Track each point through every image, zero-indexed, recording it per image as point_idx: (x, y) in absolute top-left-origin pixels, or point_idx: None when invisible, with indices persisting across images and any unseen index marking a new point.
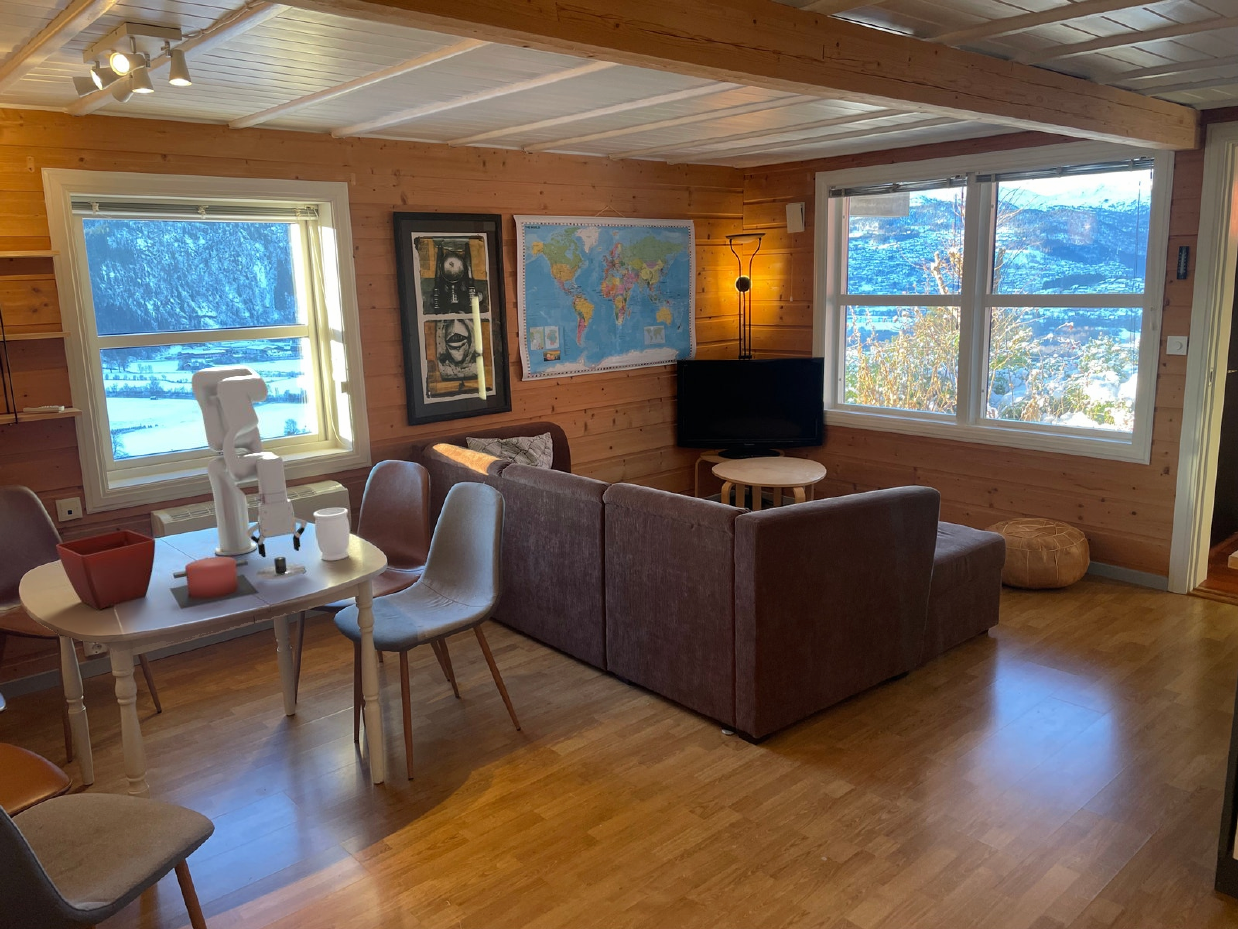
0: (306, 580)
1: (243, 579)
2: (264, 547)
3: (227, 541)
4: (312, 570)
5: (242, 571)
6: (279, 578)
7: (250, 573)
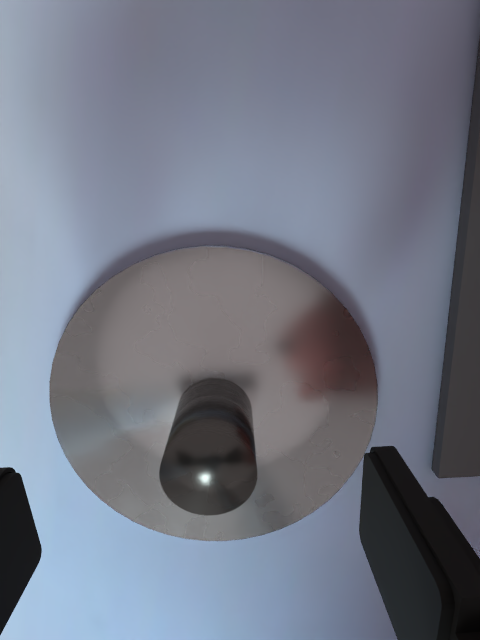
0: (73, 121)
1: (472, 379)
2: (422, 546)
3: None
4: (12, 347)
5: None
6: (258, 252)
7: None
